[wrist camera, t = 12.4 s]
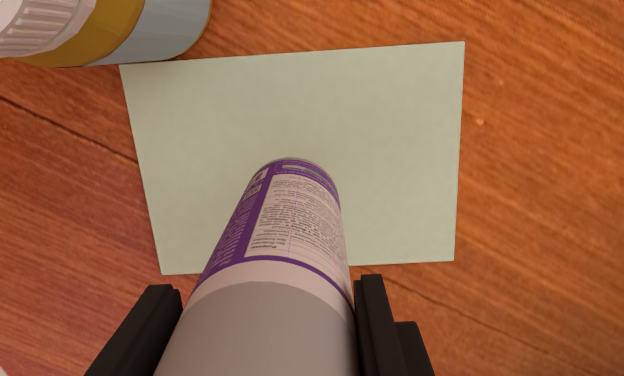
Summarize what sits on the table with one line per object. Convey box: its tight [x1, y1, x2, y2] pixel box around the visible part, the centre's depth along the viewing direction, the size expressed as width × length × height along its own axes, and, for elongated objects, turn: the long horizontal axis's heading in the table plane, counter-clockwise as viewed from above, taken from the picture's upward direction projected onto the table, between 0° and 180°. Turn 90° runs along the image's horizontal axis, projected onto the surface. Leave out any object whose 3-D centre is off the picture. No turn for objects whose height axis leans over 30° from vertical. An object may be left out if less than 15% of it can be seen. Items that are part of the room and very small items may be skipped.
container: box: [153, 157, 361, 376], centre depth 13 cm, size 5×5×15 cm
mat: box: [119, 41, 465, 275], centre depth 26 cm, size 20×14×1 cm
